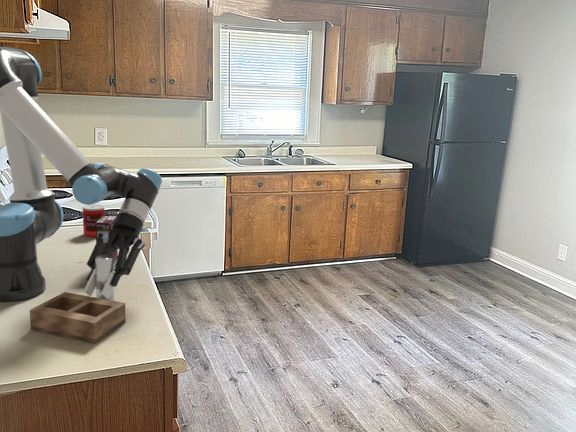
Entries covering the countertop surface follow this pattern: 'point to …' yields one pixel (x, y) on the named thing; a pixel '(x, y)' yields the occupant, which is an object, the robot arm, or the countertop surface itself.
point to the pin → (103, 274)
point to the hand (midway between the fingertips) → (95, 295)
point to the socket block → (78, 317)
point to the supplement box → (106, 232)
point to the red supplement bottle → (91, 218)
